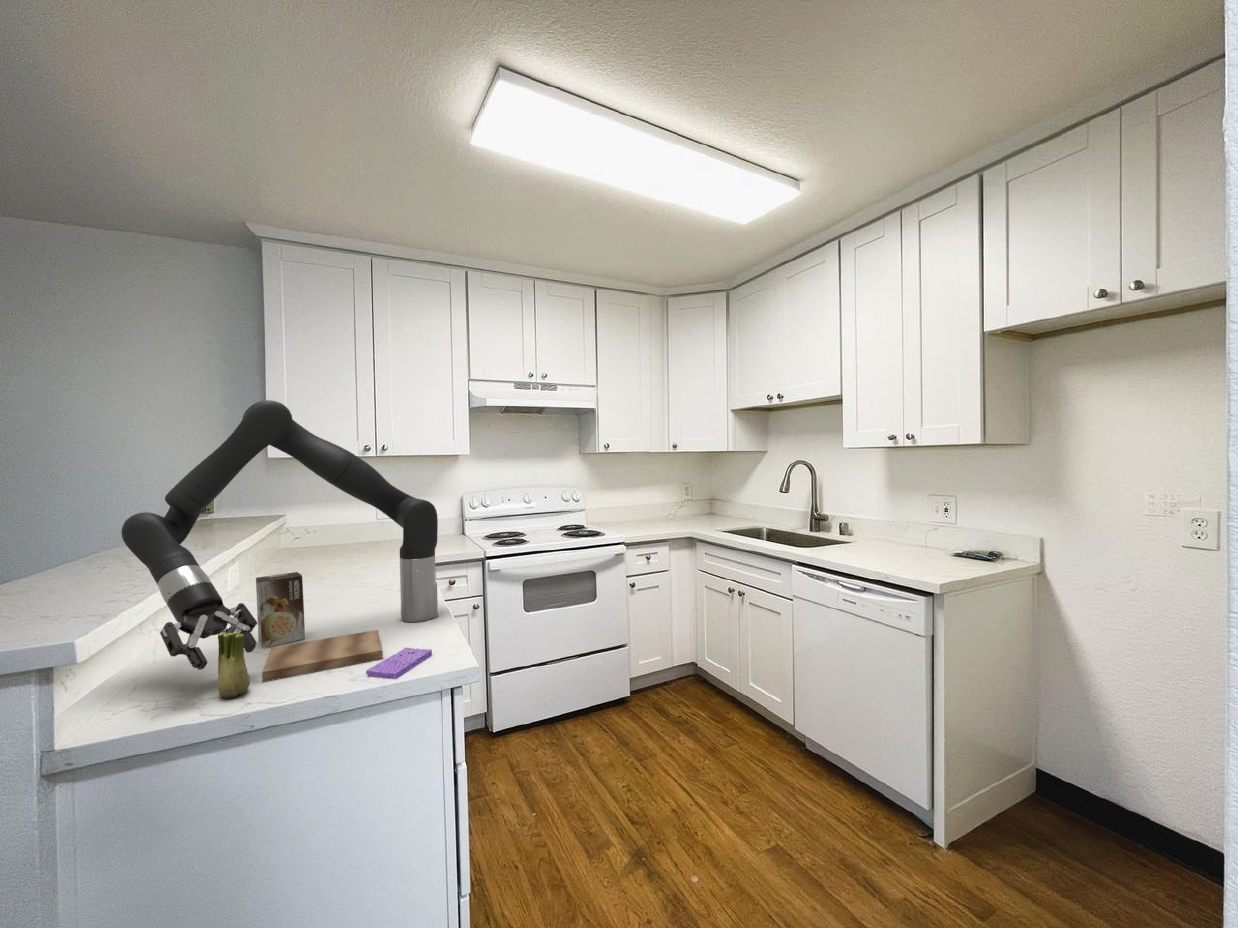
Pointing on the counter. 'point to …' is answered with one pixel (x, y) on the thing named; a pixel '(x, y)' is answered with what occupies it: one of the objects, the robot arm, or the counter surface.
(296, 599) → the food box
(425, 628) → the counter surface
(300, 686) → the counter surface
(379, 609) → the counter surface
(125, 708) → the counter surface
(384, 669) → the sponges
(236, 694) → the fennel bulb
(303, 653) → the cutting board
